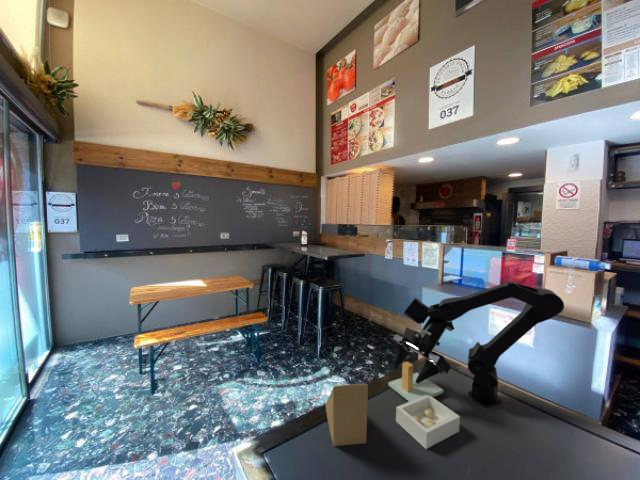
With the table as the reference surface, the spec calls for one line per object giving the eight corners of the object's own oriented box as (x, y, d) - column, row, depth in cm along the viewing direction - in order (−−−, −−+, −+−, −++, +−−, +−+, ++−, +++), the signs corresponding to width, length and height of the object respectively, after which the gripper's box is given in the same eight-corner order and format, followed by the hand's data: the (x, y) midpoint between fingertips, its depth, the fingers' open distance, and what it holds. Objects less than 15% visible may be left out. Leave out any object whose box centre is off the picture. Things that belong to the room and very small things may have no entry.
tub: (427, 407, 78) (428, 394, 78) (459, 431, 69) (459, 416, 69) (395, 421, 73) (396, 407, 72) (426, 449, 64) (426, 432, 64)
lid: (416, 378, 93) (417, 350, 93) (443, 395, 84) (444, 364, 83) (388, 388, 87) (389, 358, 87) (413, 408, 78) (414, 374, 77)
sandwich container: (353, 401, 81) (353, 353, 80) (367, 443, 66) (368, 384, 64) (324, 403, 80) (324, 354, 79) (332, 446, 65) (333, 386, 64)
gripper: (397, 310, 93) (371, 348, 88) (445, 329, 76) (415, 377, 72) (413, 328, 97) (389, 365, 93) (462, 350, 80) (434, 397, 76)
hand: (404, 374), depth 83 cm, fingers open, 9 cm apart
